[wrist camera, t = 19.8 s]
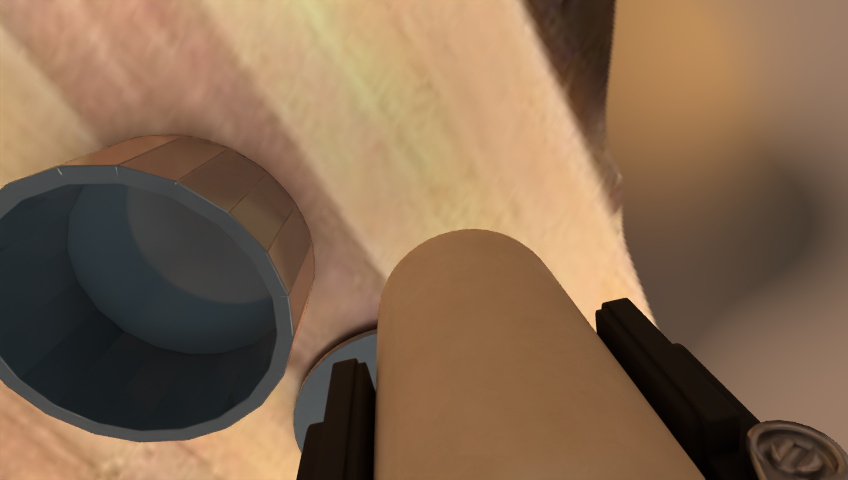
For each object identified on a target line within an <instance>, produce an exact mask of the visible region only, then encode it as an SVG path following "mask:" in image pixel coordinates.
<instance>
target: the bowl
mask: <svg viewBox="0 0 848 480" xmlns="http://www.w3.org/2000/svg"><path fill="white" fill-rule="evenodd" d="M314 269H315V259H314V250H313V244H312V240H311V236H310V233H309V230H308V228H307V225H306V223H305V220H304V218H303V216H302V214H301V212H300V211H299V209H298V207H297V205H296V204H295V202H294V201H293V200H292V198H291V197H290V196H289V194H288V193H287V192H286V190H285V189H284V188H283V187H282V186H281V185H280V184H279V183H278V182H277V181H276V180H275V179H274V178H273V177H272V176H271V175H270V174H269V173H267V172H266V171H265V170H264V169H262V168H261V167H260V166H259V165H257V164H256V163H254V162H253V161H251V160H249V159H248V158H246V157H245V156H243V155H241V154H239V153H237V152H235V151H233V150H231V149H229V148H227V147H224V146H221V145H219V144H216V143H213V142H210V141H207V140H202V139H198V138H194V137H188V136H178V135H153V136H146V137H136V138H133V139H130V140H127V141H124V142H121V143H118V144H116V145H113V146H110V147H107V148H104V149H101V150H99V151H96V152H93V153H90V154H88V155H85V156H82V157H79V158H76V159H74V160H71V161H68V162H65V163H63V164H60V165H57V166H54V167H51V168H49V169H46V170H43V171H40V172H38V173H35V174H32V175H29V176H27V177H24V178H21V179H18V180H15V181H13V182H10V183H8V184H6V185H5V186H4V187H3V188H1V189H0V379H1V380H2V382H3V383H4V384H5V385H7V387H9V388H10V389H12V390H13V391H14V392H16V393H17V394H19V395H20V396H21V397H23V398H24V399H26V400H27V401H29V402H30V403H31V404H33V405H34V406H36V407H37V408H38V409H40V410H41V411H43V412H44V413H46V414H48V415H50V416H52V417H54V418H57V419H59V420H62V421H64V422H66V423H69V424H71V425H74V426H76V427H78V428H81V429H83V430H86V431H88V432H90V433H94V434H97V435H102V436H108V437H113V438H119V439H124V440H130V441H135V442H161V441H183V440H190V439H193V438H196V437H200V436H203V435H206V434H210V433H213V432H216V431H220V430H223V429H226V428H228V427H230V426H231V425H233V424H234V423H236V422H237V421H239V420H240V419H242V418H243V417H245V416H246V415H248V414H249V413H251V412H252V411H254V410H255V409H257V408H258V407H260V406H261V405H262V404H263V403H264V402H265V400H266V399H267V398H268V396H269V395H270V393H271V392H272V391H273V389H274V388H275V387H276V385H277V384H278V383H279V381H280V380H281V379H282V377H283V376H284V374H285V371H286V368H287V365H288V362H289V359H290V356H291V353H292V350H293V347H294V344H295V341H296V338H297V335H298V332H299V329H300V326H301V323H302V320H303V317H304V314H305V310H306V307H307V304H308V300H309V296H310V293H311V290H312V285H313V281H314Z"/></svg>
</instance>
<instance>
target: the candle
mask: <svg viewBox="0 0 848 480" xmlns="http://www.w3.org/2000/svg"><path fill="white" fill-rule="evenodd" d="M373 480H706V479H705V478H704V476H703V475H702V474H701V472H700V471H699V470H698V468H697V467H696V466H695V464H694V463H693V462H692V460H691V459H690V458H689V456H688V455H687V454H686V452H685V451H684V450H683V448H682V447H681V446H680V444H679V443H678V442H677V440H676V439H675V438H674V436H673V435H672V434H671V432H670V431H669V430H668V428H667V427H666V425H665V424H664V423H663V421H662V420H661V419H660V417H659V416H658V415H657V413H656V412H655V411H654V409H653V408H652V407H651V405H650V404H649V403H648V401H647V400H646V399H645V397H644V396H643V395H642V393H641V392H640V391H639V389H638V388H637V387H636V385H635V384H634V383H633V381H632V380H631V379H630V377H629V376H628V375H627V373H626V372H625V371H624V369H623V368H622V367H621V365H620V364H619V363H618V361H617V360H616V359H615V357H614V356H613V355H612V353H611V352H610V351H609V349H608V348H607V346H606V345H605V344H604V342H603V341H602V340H601V338H600V337H599V336H598V334H597V333H596V332H595V330H594V329H593V328H592V326H591V325H590V324H589V322H588V321H587V320H586V318H585V317H584V316H583V314H582V313H581V312H580V310H579V309H578V308H577V306H576V305H575V304H574V302H573V301H572V300H571V298H570V297H569V296H568V294H567V293H566V292H565V290H564V289H563V288H562V286H561V285H560V284H559V282H558V281H557V280H556V278H555V277H554V276H553V274H552V273H551V272H550V270H549V269H548V268H547V267H546V265H545V264H544V263H543V262H542V260H541V259H540V258H539V257H538V256H537V255H536V254H535V253H534V252H533V251H531V250H530V249H529V248H527V247H526V246H525V245H523V244H522V243H520V242H519V241H517V240H515V239H513V238H511V237H509V236H506V235H504V234H501V233H498V232H493V231H489V230H479V229H466V230H458V231H451V232H448V233H444V234H441V235H438V236H436V237H434V238H431V239H429V240H427V241H425V242H424V243H422V244H420V245H418V246H417V247H416V248H414V249H413V250H412V251H410V252H409V253H408V254H407V255H406V256H405V257H404V258H403V259H402V260H401V261H400V262H399V263H398V265H397V266H396V267H395V268H394V270H393V271H392V273H391V275H390V276H389V278H388V280H387V283H386V285H385V287H384V290H383V293H382V296H381V300H380V304H379V313H378V328H377V361H376V397H375V432H374V468H373Z"/></svg>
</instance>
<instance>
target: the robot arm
mask: <svg viewBox="0 0 848 480" xmlns="http://www.w3.org/2000/svg"><path fill="white" fill-rule="evenodd" d="M595 317H596V329H597V334H598V336H599V337H600V338H601V340H602V341H603V342H604V344H605V345H606V346H607V348H608V349H609V351H610V352H611V353H612V355H613V356H614V357H615V359H616V360H617V361H618V363H619V364H620V365H621V367H622V368H623V369H624V371H625V372H626V373H627V375H628V376H629V377H630V379H631V380H632V381H633V383H634V384H635V385H636V387H637V388H638V389H639V391H640V392H641V393H642V395H643V396H644V397H645V399H646V400H647V401H648V403H649V404H650V405H651V407H652V408H653V409H654V411H655V412H656V413H657V415H658V416H659V417H660V419H661V420H662V421H663V423H664V424H665V425H666V427H667V428H668V430H669V431H670V432H671V434H672V435H673V436H674V438H675V439H676V440H677V442H678V443H679V444H680V446H681V447H682V448H683V450H684V451H685V452H686V454H687V455H688V456H689V458H690V459H691V460H692V462H693V463H694V464H695V466H696V467H697V468H698V470H699V471H700V472H701V474H702V475H703V476H704V478H705V479H706V480H848V455H847V454H846V452H845V451H844V450H843V449H842V448H841V447H840V445H838V444H837V442H835V441H834V440H832V439H831V438H830V437H828V436H827V435H825V434H824V433H822V432H820V431H818V430H816V429H814V428H811V427H809V426H805V425H803V424H799V423H796V422H790V421H782V420H775V421H765V422H762V423H761V422H760V421H759V420H758V419H757V418H756V417H754V415H753V414H752V413H751V412H750V411H748V410H747V408H746V407H745V406H744V405H743V404H742V403H741V402H740V401H739V400H737V398H736V397H735V396H734V395H733V394H732V393H731V392H730V391H728V390H727V389H726V388H725V386H724V385H723V384H722V383H720V382H719V381H718V380H717V379H716V378H715V377H714V376H713V375H712V374H711V373H710V372H709V371H708V370H707V369H706V368H705V367H704V366H703V365H702V364H701V363H700V362H699V361H698V360H697V359H696V358H695V357H694V356H693V355H692V354H691V353H690V352H689V351H688V350H687V349H686V348H685V347H684V346H682V345H681V344H678V343H676V344H672V343H671V342H670V341H669V340H668V339H667V338H666V337H665V336H664V335H663V334H662V333H661V332H660V331H659V330H658V329H657V328H656V327H655V326H654V325H653V324H652V323H651V321H650V320H649V319H648V318H647V317H646V316H645V315H644V314H643V313H642V312H641V311H640V310H639V309H638V308H637V307H636V306H635V305H634V304H633V303H632V302H631V301H630V300H629V299H628V298H622V299H618V300H613V301H609V302H604V303H603V304H602V309H600V310H597V311H596V313H595ZM375 397H376V392H375V388H374V385H373V382H372V379H371V376H370V372H369V369H368V366H367V364H366V362H362V363H359V362H358V360H357V359H356V358H353V359H348V360H344V361H339V362H335V363H333V366H332V372H331V378H330V384H329V390H328V396H327V402H326V408H325V414H324V420H323V422H318V423H314V424H310V425H309V426H308V428H307V431H306V436H305V441H304V445H303V450H302V455H301V460H300V465H299V470H298V474H297V479H296V480H373V468H374V432H375Z"/></svg>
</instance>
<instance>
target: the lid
mask: <svg viewBox="0 0 848 480" xmlns="http://www.w3.org/2000/svg"><path fill="white" fill-rule="evenodd" d="M353 358H356V359H357V360H358V362H359V363H362V362H366V364H367V366H368V369H369V372H370V376H371V379H372V382H373V385H374V388H375V392H376V361H377V329H375V330H371V331H367V332H364V333H362V334H359V335H357V336H354V337H352V338H350V339H348V340H346V341H345V342H343V343H341V344H339V345H338V346H336V347H335V348H333V349H332V350H331V351H329V352H328V353H327V354H326V355H324V356H323V357H322V358H321V359H320V360H319V361H318V362H317V363H316V364H315V366H314V367H313V368H312V369H311V371H310V372H309V373H308V375H307V376H306V378H305V380H304V382H303V384H302V385H301V388H300V391H299V393H298V396H297V400H296V404H295V409H294V422H293V426H294V432H295V438H296V441H297V444H298V447H299V449H300V451H301V453H302V450H303V445H304V441H305V436H306V431H307V428H308V426H309V425H310V424H314V423H318V422H323V420H324V414H325V408H326V402H327V396H328V390H329V384H330V378H331V372H332V366H333V363H335V362H339V361H344V360H348V359H353Z"/></svg>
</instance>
